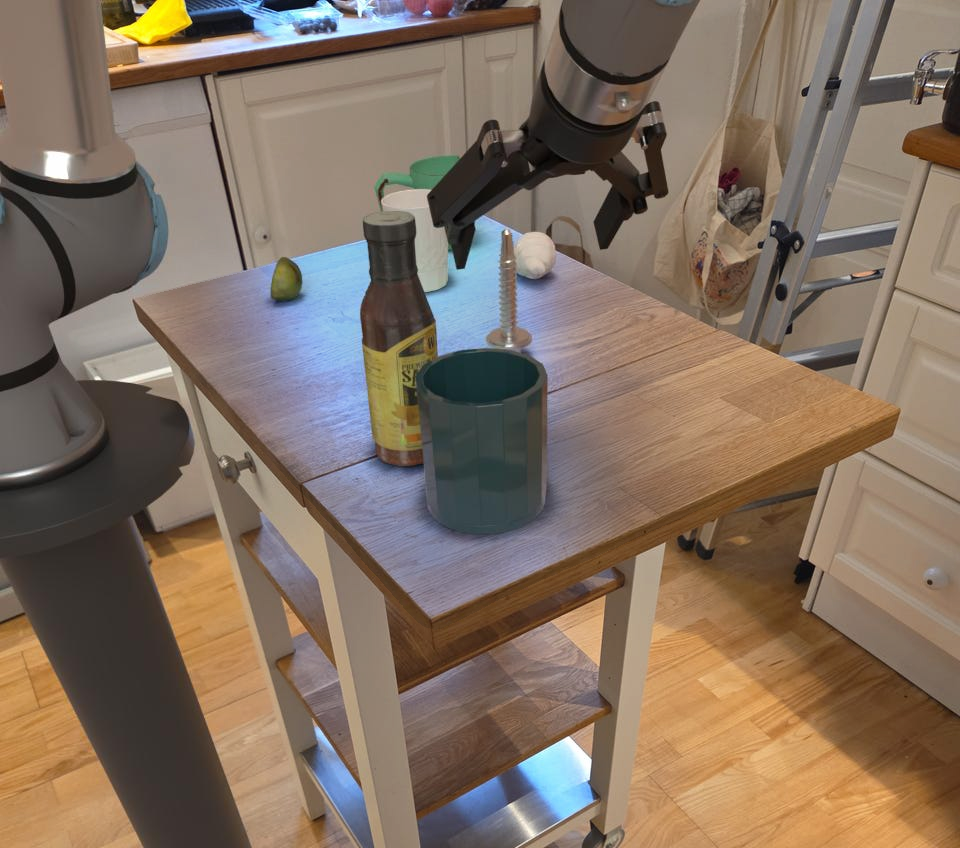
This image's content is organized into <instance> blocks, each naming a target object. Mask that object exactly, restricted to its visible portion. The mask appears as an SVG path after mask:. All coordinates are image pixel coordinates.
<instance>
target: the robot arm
mask: <svg viewBox="0 0 960 848" xmlns="http://www.w3.org/2000/svg"><path fill="white" fill-rule="evenodd" d="M700 2H701V0H562V1H561V5H560V8H559V11H558V14H557V17H556V19H555V23H554V27H553V29H552V32H551V34H550V38H549V42H548V44H547V48H546V52H545V57H544V59H543V62H542V65H541V68H540V71H539V75H538V77H537V80H536V84H535V88H534V91H533V94H532V98H531V104H530V110H529V115H528V117H527V118H526V120H525V121H524V122H523V123H521V124H520V126H519V128H518V129H511V130H510V129H507V130H501V126H500V123H499V121H498V120H497V119H489V120H486V121H485V122H484V123H482V125H481V129H480V131H479V133H478V136H477V138H476V141H475V142H474V143H472V145H471V146H470V147H469V148H468V149H467V150H466V152H464V154H463V155H462V156H461V157H459V158H460V159H459V160H458V162H457V163H456V164H455V165H454V166H453V167H452V168H451V169H450V170H449V171H448V173H447V174H446V175H445V176H444V177H443V178H442V179H441V180H440V181H439V182H438V183H437V185H436V186H435V187H434V188H433V189H432V190H431V191H430V192H429V193H428V195H427V200H428V204H429V209H430V213H431V218H432V222H433V226H434V227H436V228H441V227H444V228H445V232H446V237H447V241H448V243H449V245H451V247H452V250H451V251H452V256H453V261H454V264H455V269H456V270H457V271H458V270H465V269H466V266H467V261H468V259H469V256H470V251H471V248H472V244H473V240H474V237H475V233H476V229H477V228H476V226H475V224H474V221H475V222H476V221H477V220H479V219H480V218H482V217H483V216H485V215H486V214H487V213H489V212H490V211H492V210H493V209H495V208H496V207H497V206H499V205H501V204H502V203H504V202H505V201H506V200H508V199H510V198H511V197H512V196H514V195H515V194H517V193H518V192H520V191H521V190H523V189H524V190H526V191H532V190H533V189H535V188H536V187H537V186H539V185H541V184H542V183H544V182H545V181H547V180H548V179H555V178H559V177H563V176H579V175H585V174H586V172H588V171H590V172H594V173H595V174H596V175H597V177H598V178H600V179H601V180H602V181H603V182H605V181H608V182H609V184H610V185H611V186H610V189H609V190H608V193H607V194H606V197H604V201H603V202H602V204H601V206H600V208H599V210H598V212H597V214H596V216H595V218H594V220H593V226H594V230H595V235H596V239H597V243H598V248H599V251H603V250H609V247H610V245H611V244H612V242H613V240H614V238H615V237H616V235H617V233H618V232H619V230H620V229H621V226H622V225H623V223H624V222H625V221H629V220H630V219H631V218H632V217H633V215H641V214H644V213H646V212H647V211H648V209H649V207H648V202H647V197H650V196H653V197H654V199H655V200H660V199H664V198H666V196H668V195H669V186H668V181H667V176H666V170H665V164H664V160H663V154H662V148H663V146H664V143H665V141H666V139H667V136H668V133H667V129H666V125H665V120H664V117H663V113H662V108H661V104H660V102H659V101H657V100H653V101H650V100H651V98H652V96H653V94H654V92H655V90H656V88H657V86H658V84H659V82H660V80H661V79H662V76H663V74H664V72H665V70H666V68H667V66H668V64H669V62H670V59H671V57H672V54H673V53H674V51H675V49H676V47H677V45H678V43H679V41H680V39H681V37H682V35H683V33H684V31H685V29H686V27H688V24H689V22H690V20H691V19H692V16H693V14H694V13H695V11H696V8H697V7H698V5H699V4H700ZM106 45H107V44H106V36H105V27H104V19H103V10H102V2H101V0H0V84H1V88H2V94H3V100H4V105H5V111H6V115H7V120H8V121H7V122H8V126H7V127H6V128H5V129H4V130H3V132H2V133H0V491H9V490H17V489H23V488H28V487H32V486H36V485H40V484H44V483H47V482H50V481H53V480H56V479H58V478H61V477H63V476H66V475H68V474H70V473H72V472H74V471H76V470H78V469H80V468H81V467H83V466H84V465H86V464H87V463H89V462H90V461H92V460H93V459H94V458H95V457H96V456H97V455H98V454H100V452H101V451H102V450H103V449H104V447H105V446H106V444H107V442H108V438H109V433H108V429H107V427H106V424H105V421H104V418H103V416H102V413H101V412H100V410H99V409H98V408H97V406H96V405H95V404H94V402H93V401H92V400H91V399H90V397H89V396H88V395H87V393H86V392H85V391H84V390H83V388H82V387H81V386H80V384H79V383H78V382H77V381H78V380H77V379H76V378H75V376H73V374H72V373H71V371H70V370H69V369H68V368H67V366H66V365H65V364H64V362H63V360H62V358H61V355H60V352H59V351H58V348H57V345H56V343H55V340H54V336H53V334H52V331H51V328H50V325H51V324H52V323H54V322H56V321H58V320H60V319H62V318H64V317H67V316H69V315H71V314H74V313H76V312H78V311H80V310H82V309H84V308H87V307H89V306H90V305H92V304H95V303H96V302H99V301H101V300H103V299H105V298H108V297H109V296H112V295H116V294H119V293H123V292H126V291H129V290H130V289H131V288H132V287H134V286H136V285H137V284H138V283H139V282H140V281H142V280H144V279H145V278H147V277H149V276H150V275H152V274H153V273H154V272H155V271H156V270H157V269H158V268H159V266H160V265H161V263H162V261H163V260H164V258H165V255H166V251H167V248H168V244H169V243H168V242H169V221H168V213H167V209H166V206H165V203H164V199H163V197H162V195H161V194H159V193H156V192H155V189H154V188H155V186H156V183H155V181H154V180H153V177H152V176H151V174H149V172H148V171H147V170H146V169H145V167H144V166H142V164H141V163H139V162H138V161H137V158H136V153H135V150H134V149H133V147H132V146H131V145H130V144H129V143H128V142H127V141H126V140H125V139H124V138H123V137H122V136H120V135H119V134H118V133H117V132H116V127H115V118H114V109H113V99H112V90H111V82H110V80H111V79H110V73H109V63H108V54H107V46H106ZM631 138H633V139H634V142H635V143H636V144H639V146H640V149H641V150H643V154H644V158H645V163H646V168H647V172H644V173H641V172H640V170H639V169H638V168H637V167H636V166H635V165H634V164H633V163H632V161H631V160H630V159H629V158H628V157H627V156H626V155H625V154H624V153H623V152H622V151H623V150H624V149H625V148H626V146H627V145H628V143H629V142H630V140H631ZM530 166H532V168H533V170H531V168H530Z"/></svg>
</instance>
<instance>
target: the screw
mask: <svg viewBox="0 0 960 848" xmlns="http://www.w3.org/2000/svg"><path fill="white" fill-rule="evenodd" d="M500 244H501V245H500V253H499V255H498V256H499V257H500V259H499V260H498V263H499V266H498V267H497V268H498V270H499V272H498V275H499V278H498V281H499V285H498V287H499V288H500V289H499V290H498V293H499V294H500V296H499V297H498V299H500V301H499V303H498V304H499V305H500V307H499V309H498V310H499V311H500V313H499V316H500V319H499V322H500V323H501V324H500V325H499V327H498V328H495V329H493V330H491V331H490V332H489V333H488V334H486V337H485V343H486V345H487V346H488V347H489V348H494V349H507V350H513V351H516V352H520V353H522V349H524V348H526V347H528V346H529V345H530V344H531V343H532V341H533V336H532V334H531V333H530V332H529V331H528V330H527V329H525V328H522V327H518V326H517V325H518V320H517V319H518V315H517V314H518V309H517V308H518V303H517V302H518V298H517V296H518V293H517V290H518V286H517V284H518V281H517V280H516V279H517V278H518V275H517V273H518V272H517V269H516V268H515V266H516V265H517V263H516V262H515V260H516V256H514V241H513V233H512V232H511V230H510V229H509V228H508V227H506V228H504V229H503V230H502V231H501V243H500Z"/></svg>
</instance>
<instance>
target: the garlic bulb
mask: <svg viewBox="0 0 960 848" xmlns="http://www.w3.org/2000/svg"><path fill="white" fill-rule="evenodd" d="M513 247H514V256H516V260H515V262H516V263H517V265H516V266H515V268H516V269H517V272H516V273H518V275H520V276H521V277H526V278H528V279H531V280H537V279H540V278H543V277H544V276H546V275H547V274H548V273H550V271H551V270H552V269H553V267H554V266H555V264H556V257H557V252H556V246H555V244H554V242H553V240H552V238H551V237H550V236H549V235H547V234H546V233H544V232H542V231H529V232H526V233H524V234H523V235H521V236H520V237H519V238H518V239H517V241H516V242H515V244H514V245H513Z"/></svg>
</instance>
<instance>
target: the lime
mask: <svg viewBox="0 0 960 848" xmlns="http://www.w3.org/2000/svg"><path fill="white" fill-rule="evenodd" d="M303 282H304V281H303V274H302V270H301V268H300V267H299V265H298V264H297V263H296V262H295V261H293V260H292V259H290V258H289V257H287V256H281V257H280V258H279V259H278V261H277V262H276V265H275V267H274V270H273V274H272V277H271V282H270V287H269V289H270V297H271V299H273V300H275V301H279V302H288V301H291V300H293V299H294V298H297V297H298V295H299V294H300V292H301V290H302V288H303Z"/></svg>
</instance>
